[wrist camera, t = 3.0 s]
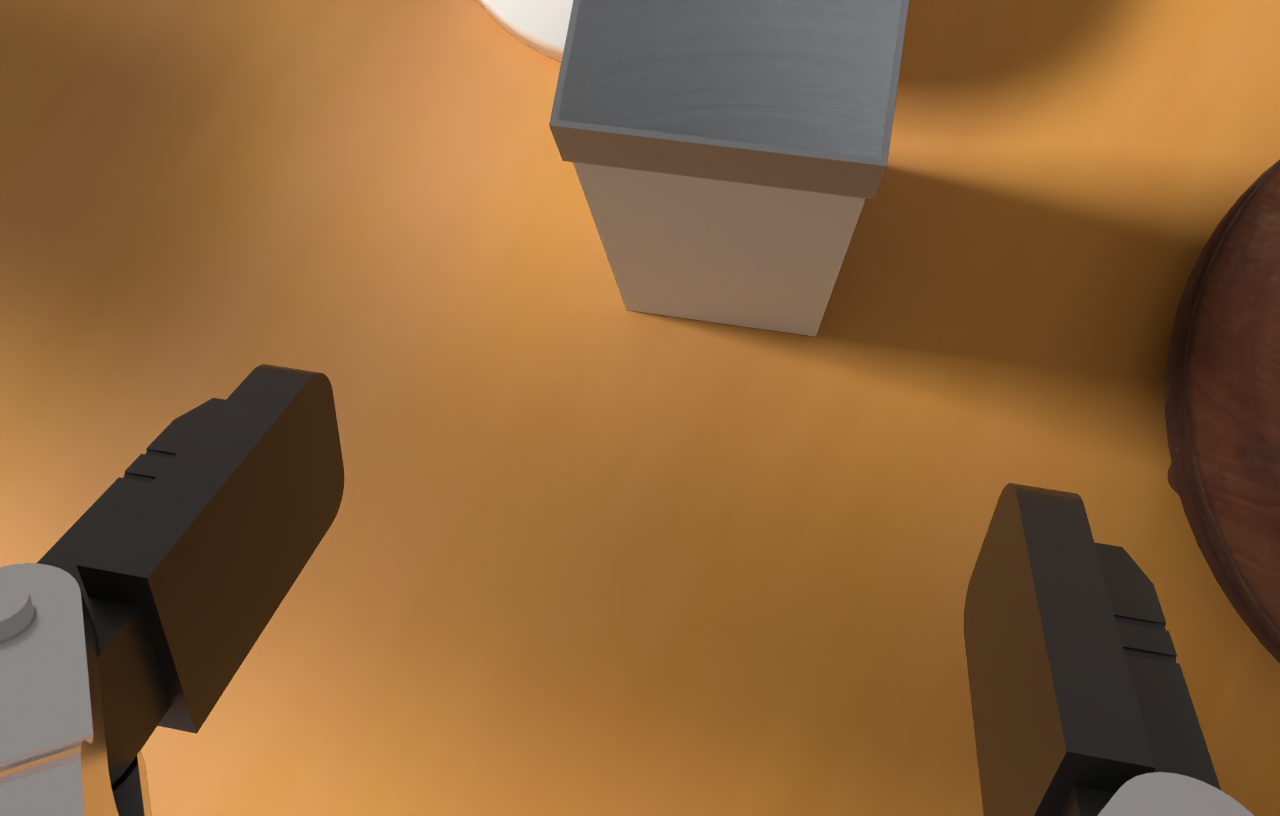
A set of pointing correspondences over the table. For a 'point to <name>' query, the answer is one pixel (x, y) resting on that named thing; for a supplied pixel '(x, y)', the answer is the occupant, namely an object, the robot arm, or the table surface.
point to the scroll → (1233, 406)
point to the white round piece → (534, 22)
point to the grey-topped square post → (729, 146)
